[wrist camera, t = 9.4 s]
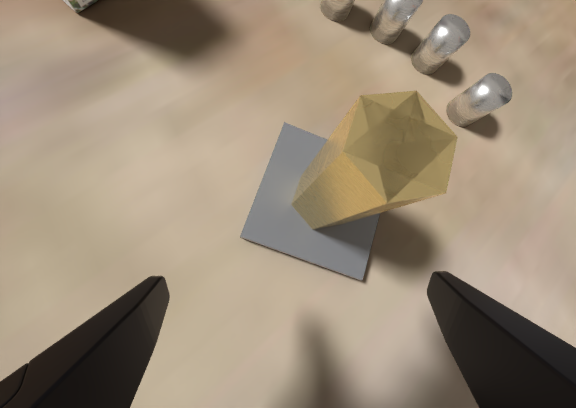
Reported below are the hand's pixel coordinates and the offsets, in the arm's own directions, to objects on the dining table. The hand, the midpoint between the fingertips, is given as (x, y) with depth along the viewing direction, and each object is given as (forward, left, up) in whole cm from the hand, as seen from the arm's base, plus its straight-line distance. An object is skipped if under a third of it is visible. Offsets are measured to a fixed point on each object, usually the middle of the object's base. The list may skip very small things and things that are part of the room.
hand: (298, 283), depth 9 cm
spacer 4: (+3, -24, -12) cm, 27 cm away
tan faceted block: (+2, -6, -11) cm, 13 cm away
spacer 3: (+9, -24, -12) cm, 28 cm away
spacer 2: (+14, -22, -12) cm, 29 cm away
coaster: (+2, -6, -12) cm, 14 cm away
